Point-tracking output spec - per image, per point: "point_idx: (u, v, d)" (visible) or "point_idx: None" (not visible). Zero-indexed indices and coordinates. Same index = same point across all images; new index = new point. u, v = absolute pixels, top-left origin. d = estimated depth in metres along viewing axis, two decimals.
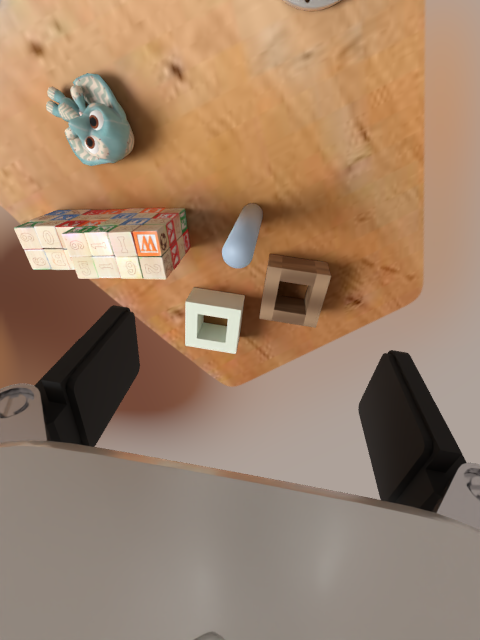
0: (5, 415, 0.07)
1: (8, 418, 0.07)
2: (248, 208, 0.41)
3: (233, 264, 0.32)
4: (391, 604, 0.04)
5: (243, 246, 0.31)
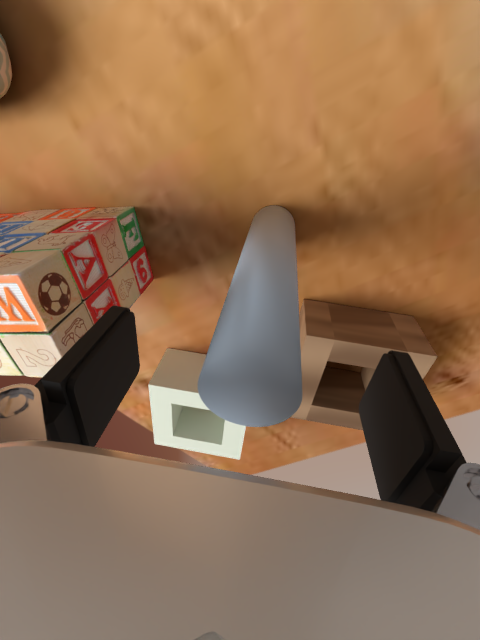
0: (5, 415, 0.07)
1: (8, 418, 0.07)
2: (268, 218, 0.19)
3: (235, 417, 0.10)
4: (391, 604, 0.04)
5: (270, 377, 0.09)
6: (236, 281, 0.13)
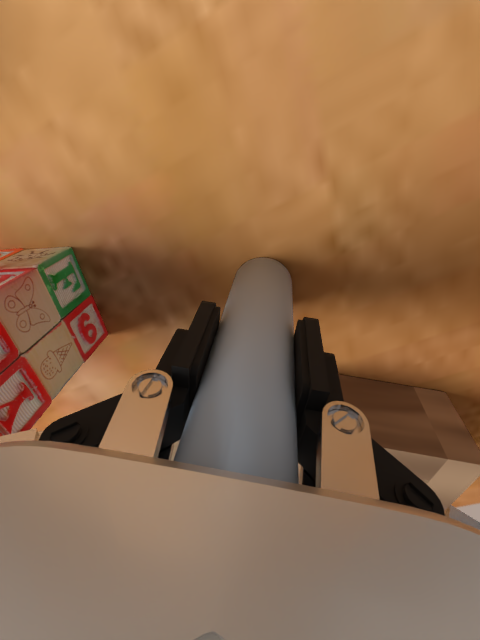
0: (142, 394, 0.08)
1: (142, 398, 0.08)
2: (254, 283, 0.13)
3: None
4: (391, 604, 0.04)
5: None
6: (187, 444, 0.07)
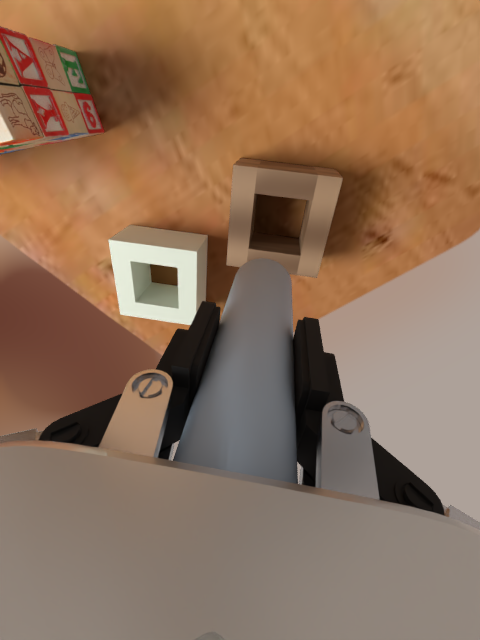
0: (142, 394, 0.08)
1: (142, 398, 0.08)
2: (253, 285, 0.13)
3: None
4: (391, 604, 0.04)
5: None
6: (186, 446, 0.07)
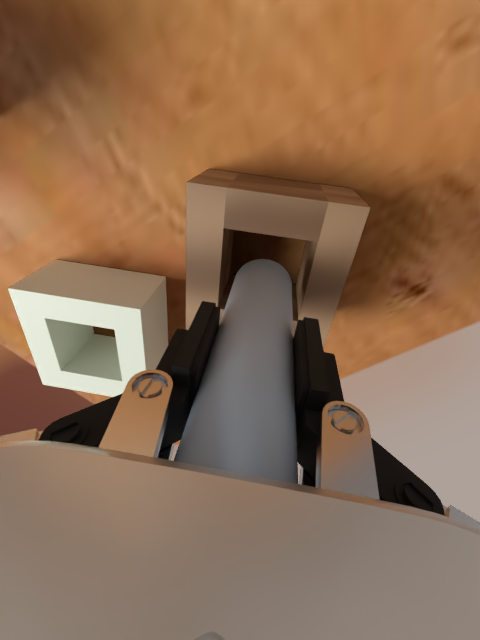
0: (142, 394, 0.08)
1: (142, 399, 0.08)
2: (254, 285, 0.13)
3: None
4: (391, 604, 0.04)
5: None
6: (187, 446, 0.07)
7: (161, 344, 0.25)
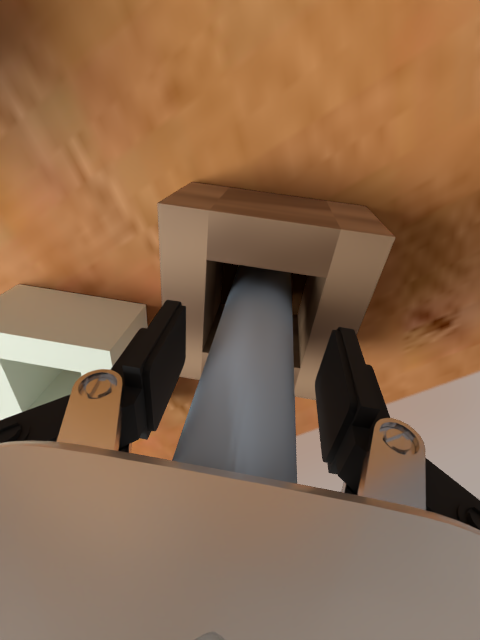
0: (91, 396, 0.08)
1: (92, 399, 0.08)
2: (256, 270, 0.15)
3: None
4: (391, 604, 0.04)
5: None
6: (200, 397, 0.08)
7: None
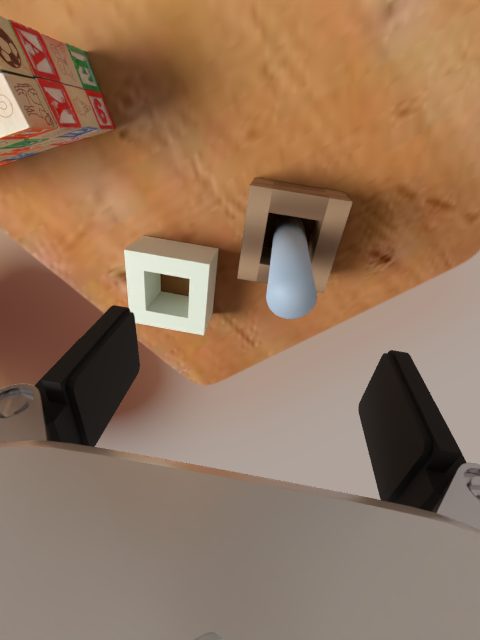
0: (5, 415, 0.07)
1: (8, 418, 0.07)
2: (288, 221, 0.29)
3: (282, 313, 0.20)
4: (391, 604, 0.04)
5: (302, 287, 0.19)
6: (277, 252, 0.23)
7: (212, 296, 0.37)
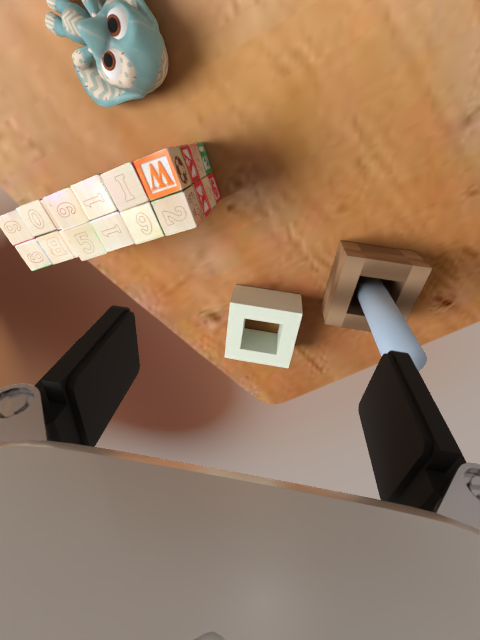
0: (5, 415, 0.07)
1: (8, 418, 0.07)
2: (371, 279, 0.35)
3: None
4: (391, 604, 0.04)
5: (416, 355, 0.25)
6: (380, 317, 0.29)
7: None
